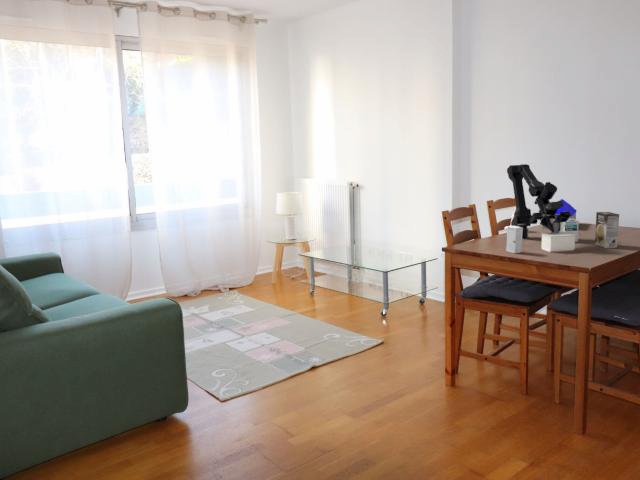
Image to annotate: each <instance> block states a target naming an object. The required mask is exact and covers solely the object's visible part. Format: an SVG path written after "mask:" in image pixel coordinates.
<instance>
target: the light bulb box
mask: <svg viewBox="0 0 640 480" xmlns="http://www.w3.org/2000/svg"><path fill="white" fill-rule="evenodd" d="M579 222H580V221H578V220H577V219H576V220H575V219H568V220H567V221H566V222H561V229H560V232H567V233H570V234H574V235H576V236H575V243H579V229H580V228H579V226H580V225H579Z"/></svg>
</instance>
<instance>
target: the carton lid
mask: <svg viewBox="0 0 640 480" xmlns="http://www.w3.org/2000/svg"><path fill="white" fill-rule="evenodd" d="M552 226H553V228H554V232H552V231H550V232H548V233H547V232H546V233H545V232H544V233H541V236H542V235H545V236H548V237H563V236H576V235H574V234H570V233H567V232H561V231H559V232H558V229H559V223H557V222H555V223H552Z"/></svg>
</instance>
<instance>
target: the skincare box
mask: <svg viewBox="0 0 640 480" xmlns="http://www.w3.org/2000/svg"><path fill="white" fill-rule="evenodd" d="M507 226H508V227H507ZM507 226H506V227H507V232H506V248H505V251H506V252H508V253H512V254H519V253H522V249H523V247H522V245H523V238H522V234H523V227H519V226H510V225H507Z"/></svg>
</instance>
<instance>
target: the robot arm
mask: <svg viewBox="0 0 640 480" xmlns="http://www.w3.org/2000/svg"><path fill="white" fill-rule="evenodd" d="M506 173H507V175H508V179H510V181H511V182H512V187H513V194H514V200H515V207H516V209H515V210H514V211H515V213H514V212H513V213H514V218H513V217H512V218H513V220H512V219H511V220H512V221H511V220H510V224H511V226H519V227H523V234H522V239H527V238H528V237H529V228H528V227H531V225H536V224H538V220H539V221H540V222H539V225H541V226H542V225H543V226H545V227H546V228H548V229H547V230H549V232H551V231H552V232H554V228H553V226H552V224H551V221H550V219H553V221H554V222H553V223H555V222H557V223H559V229H558V233H559V232H561V229H560V222H566V221H567V220H568V219H569V217H570V216H571V213H570V212H569V211H561V212H560V214H555V213H557V210H558V209H560V208H562V207H563V203H562V201H560V200H558V201H551V200H552V199H553V198H554V196H555V195H556V193H557V191H558V188H557V186H556V185H554V184H553V183H552V182H550V181H546V182H545V184H544V183H543V182H541V181H539V180H538V179H537V177H536V176H535V174H534V172H533V171H532V169H531V168H530V165H529V164H525V163H524V164H523V163H522V164H512V165H509V166H508V167H507V168H506ZM523 180H525V183H526V184H527V185H528V192H529V194H530V196H531V197H533V198H534V197H536V198H535V201H534V205H537V207H538V208H539V210H538V212H533V213H532V212H531V208H528V207H527V204H526V203H527V202H526V198H525V191H524V185H523V183H524V182H523Z"/></svg>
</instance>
